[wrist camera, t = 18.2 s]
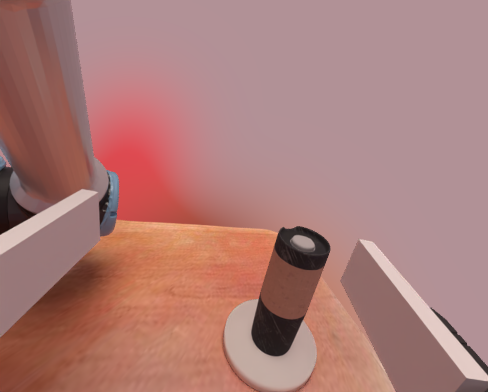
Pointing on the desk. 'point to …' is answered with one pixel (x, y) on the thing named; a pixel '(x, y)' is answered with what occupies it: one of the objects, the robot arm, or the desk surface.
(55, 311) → the desk surface
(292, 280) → the travel mug
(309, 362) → the white round disc
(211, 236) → the desk surface
